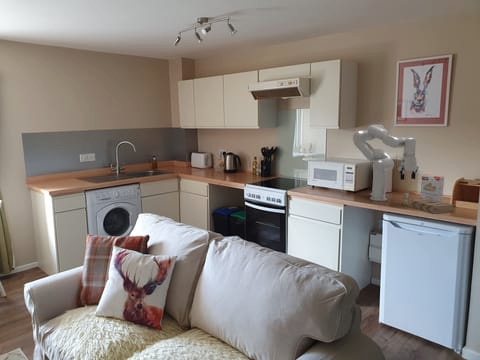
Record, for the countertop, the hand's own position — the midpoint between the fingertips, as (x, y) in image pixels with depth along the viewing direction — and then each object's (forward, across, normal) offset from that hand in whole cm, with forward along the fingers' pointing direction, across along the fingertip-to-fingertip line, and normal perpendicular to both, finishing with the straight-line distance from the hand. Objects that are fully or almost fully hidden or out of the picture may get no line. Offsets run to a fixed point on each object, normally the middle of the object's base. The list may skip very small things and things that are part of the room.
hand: (407, 179), depth 260 cm
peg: (+19, 0, 0) cm, 19 cm away
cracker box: (+19, +22, -1) cm, 29 cm away
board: (+19, +7, -16) cm, 26 cm away
